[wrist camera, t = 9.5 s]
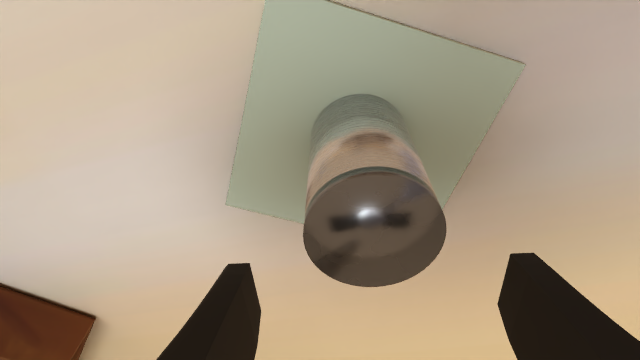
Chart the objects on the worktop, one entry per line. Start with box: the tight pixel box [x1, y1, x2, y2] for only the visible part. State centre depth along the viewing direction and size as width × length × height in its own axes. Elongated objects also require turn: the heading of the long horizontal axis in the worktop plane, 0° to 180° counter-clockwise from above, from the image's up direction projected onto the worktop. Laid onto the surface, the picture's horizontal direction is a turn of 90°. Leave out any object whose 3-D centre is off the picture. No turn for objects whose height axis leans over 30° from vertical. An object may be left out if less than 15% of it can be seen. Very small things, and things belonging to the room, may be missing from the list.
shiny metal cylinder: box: [303, 94, 446, 287], centre depth 15 cm, size 4×4×7 cm
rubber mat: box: [226, 0, 526, 224], centre depth 19 cm, size 11×11×1 cm
